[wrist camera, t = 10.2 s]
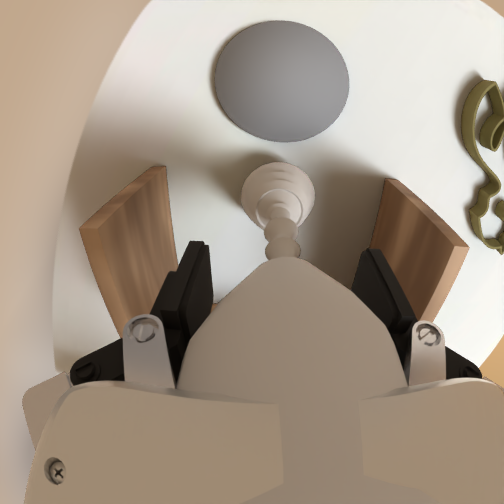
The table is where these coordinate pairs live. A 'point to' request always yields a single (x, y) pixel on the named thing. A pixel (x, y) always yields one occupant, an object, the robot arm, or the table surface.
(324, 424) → the chalice
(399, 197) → the brown wooden u-shaped piece
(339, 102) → the coaster
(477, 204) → the cookie cutter
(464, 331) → the table surface
